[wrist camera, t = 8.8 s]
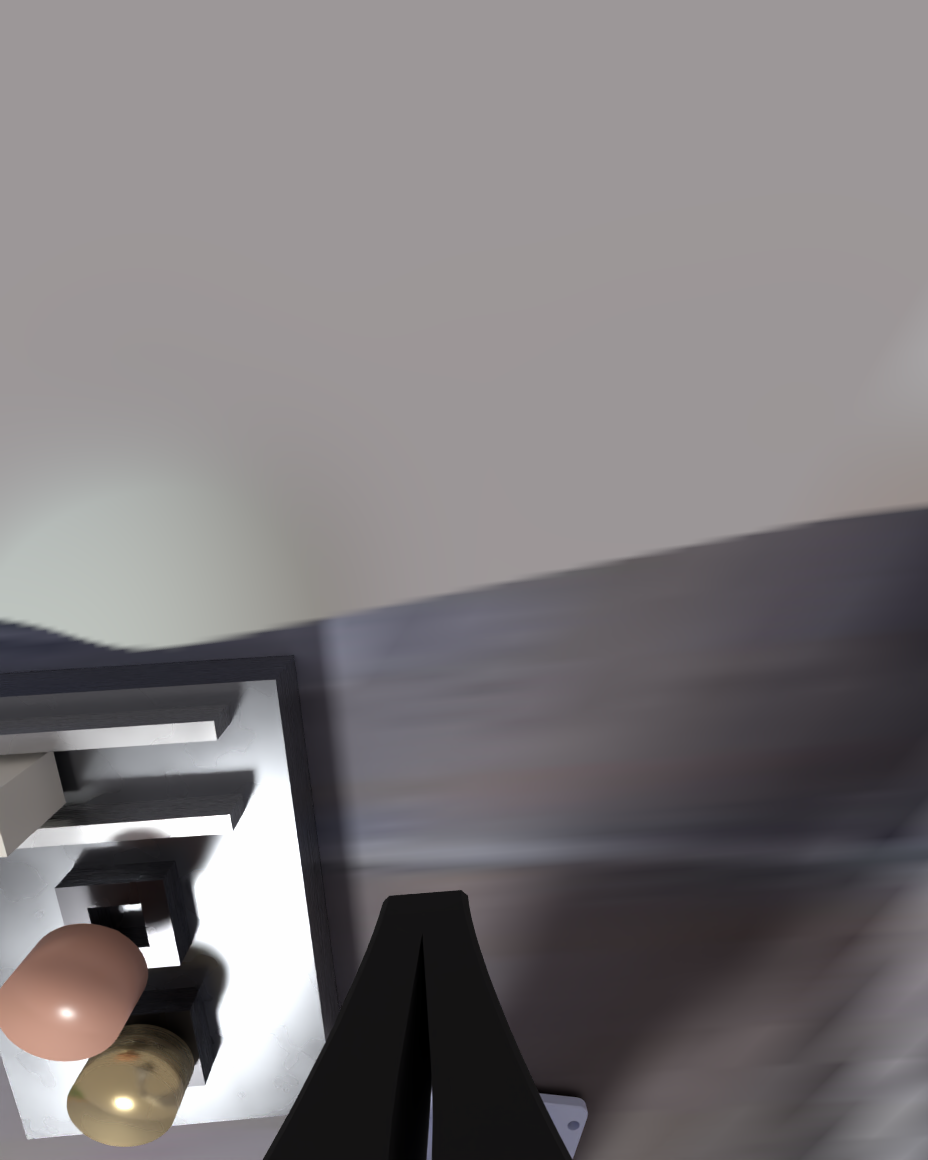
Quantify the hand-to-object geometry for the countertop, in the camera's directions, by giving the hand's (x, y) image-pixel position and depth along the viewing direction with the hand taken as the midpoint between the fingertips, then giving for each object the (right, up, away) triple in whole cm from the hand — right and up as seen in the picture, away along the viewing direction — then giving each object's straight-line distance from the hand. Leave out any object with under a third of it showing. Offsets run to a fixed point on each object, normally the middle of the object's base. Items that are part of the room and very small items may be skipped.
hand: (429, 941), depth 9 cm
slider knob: (-12, 0, +7) cm, 14 cm away
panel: (-10, -5, +10) cm, 15 cm away
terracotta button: (-10, -5, +7) cm, 13 cm away
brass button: (-10, -9, +9) cm, 16 cm away
